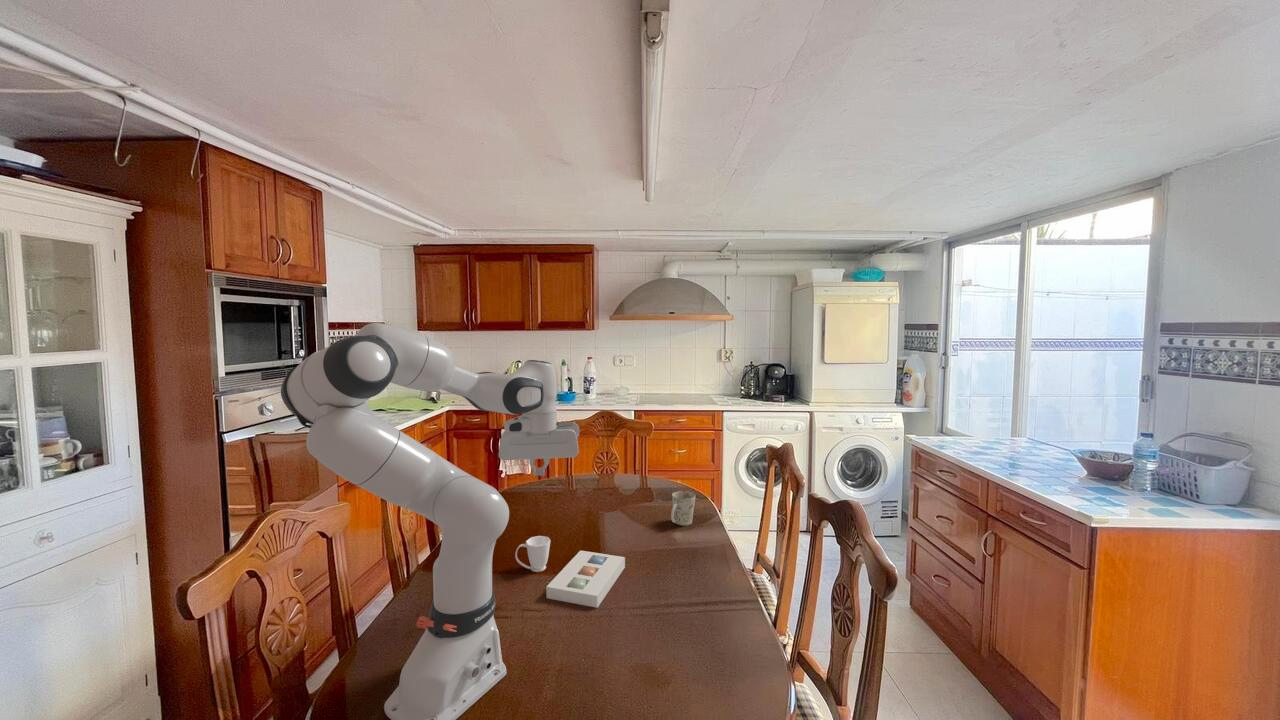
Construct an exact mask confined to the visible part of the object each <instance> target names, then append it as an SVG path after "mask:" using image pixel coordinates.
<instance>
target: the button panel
mask: <svg viewBox="0 0 1280 720" xmlns="http://www.w3.org/2000/svg"><path fill="white" fill-rule="evenodd" d="M593 556H603V557H604V563H603V564H602V565H598V564H591V563H590V558H591V557H593ZM586 566H591V567H594V568H595V575H594V576H593V577H591V576H585V575H581V569H582V568H583V567H586ZM625 568H626V557H625V556H621V555H620V556H619V555H611V554H607V553H606V554H605V553H599V552H593V551H589V550H588V551H585V550H579V551H578V552H577V554H576V555H575V556H573V558H571V560H570V561H569V562H567V564H566V565H565V566H564V567H563V568H562V570H561V571H559V573H558V574H556V576H555V577H554V578H553V579H552V580H551V581H550V582H549V583H548V584H547V585H546V589H545V590H546V597H545V598H546V599H547V600H548V599H550V600H555V601H559V602H564V603H571V604H576V605H581V606H586V607H592V608H599V606H600V605H601V603H602V601H603V600H604V599H605V598H606V596H607V594H608V593H609V591H611V588H612V587H613V586H614V584H615V583H616V581H617V580H618V578H619V576H620V575H621V574H622V572H623V571H624V569H625ZM576 578H582V579H584V580H585V581H586V586H585V587H584V589H583V590H581V589H576V588H570V582H571V580H573V579H576Z"/></svg>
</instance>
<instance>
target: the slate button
mask: <svg viewBox="0 0 1280 720" xmlns="http://www.w3.org/2000/svg"><path fill="white" fill-rule="evenodd" d="M590 563H591V564H598V565H602V564H603V563H604V557H603V556H593V557H591V558H590Z"/></svg>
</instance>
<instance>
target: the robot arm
mask: <svg viewBox="0 0 1280 720" xmlns="http://www.w3.org/2000/svg"><path fill="white" fill-rule="evenodd" d="M455 364H456V361H455V357H454V353H453V351H452V350H451V349H450V348H449V347H448V346H447V345H445V344H443V343H442V342H440V341H438V340H436V339H435V338H431V337H429V336H427V335H424V334H421V333H419V332H416V331H413V330H410V329H407V328H403V327H401V326H400V327H399V326H397V325H392V324H387V323H382V322H381V323H380V322H371V323H368V324H365V325H364V326H362V327H361V328H360V329H359V330H357V332H356V333H355V334H354V336H348V337H345V338H341V339H338V340H336V341H335V342H333V343H332V344H331V345H329V346H327V347H324V348H323V349H320V350H318V351H315V352H313V353H311V354H310V355H309V356H308V357H306V358H305V359H304V360H303V361H301V362H300V363H299V364H297V365H296V366H294V367H292V368H291V370H290V371H289V372H288V373H287V374H286V376H285V377H284V379H283V381H282V383H281V387H280V395H281V400H282V401H283V404H284V405H285V407H286V408H287V410H288V411H289V412H290V413H292V414H293V416H295V418H296V419H298V423H300V425H302V426H303V427H304V428H308V429H309V430H308V433H307V435H306V440H305V441H306V442H305V443H306V449H307V451H308V453H309V454H310V455H311V456H312V457H313V458H314V459H316V461H318V462H319V463H320V464H321V465H323V466H324V467H326V468H328V470H330V471H332V472H333V473H334V474H336V475H337V476H338V477H341V478H343V479H344V480H345V481H347V482H350V483H351V484H353V485H355V486H357V487H359V488H361V489H363V490H366V491H367V492H369V493H371V494H373V495H375V496H376V497H379V498H381V499H382V500H384V501H386V502H388V503H390V504H392V505H394V506H399V507H400V508H404V509H406V510H408V511H411V512H413V513H416V514H417V515H420V516H422V517H424V518H426V519H427V520H429V521H431V522H432V523H434V524H435V525H436V526H438V527H439V530H440V532H441V533H440V534H441V545H440V551H439V555H438V557H437V558H436V559H435V560H434V563H433V564H432V565H433V567H432V582H433V583H432V585H433V586H432V587H433V588H432V589H433V591H432V592H433V601H432V603H431V606H430V609H429V614H428V617H427V616H426V615H425V616H424V615H421V616H419V617H418V618H417V621H416V627H417V628H418V629H424V630H425V631H424V633H423V634H422V636H421V638H419V640H418V642H417V644H416V645H415V647H414V649H413V651H412V653H410V656H409V658H408V659H407V660H406V662H405V664H404V665H403V667H402V669H401V672H400V674H399V675H400V676H399V684H398V686H397V687H396V688H395V690H394V691H392V694H390V695H389V697H388V698H387V700H386V701H385V702H384V706H383V710H384V713H385V715H386V716H387V718H389V719H390V720H457V719H458V718H460V716H462V715H463V714H464V713H465V712H466V711H467V710H469V708H470V707H472V706H473V705H474V704H475V703H477V701H478V700H480V698H482V697H483V696H484V695H485V694H486V693H488V692H489V690H491V689H492V688H493V687H494V686H495V685H497V684H498V682H500V681H501V680H502V679H503V678H504V677H505V676H506V675H507V667H506V664H505V663H504V662H503V655H502V649H501V640H500V632H499V629H498V626H497V623H496V619H495V616H494V614H495V610H496V598H495V597H496V596H495V591H494V590H493V558H494V557H493V555H494V549H495V546H496V543H497V539H498V538H500V536H502V534H503V533H504V531H505V529H506V528H507V525H508V522H509V521H510V520H509V519H510V508H509V505H508V503H507V502H506V500H505V499H504V497H503V496H502V495H501V494H500V492H499V491H498V490H497V489H496V488H495V487H493V486H492V485H490V484H488V483H486V482H485V481H483V480H481V479H478V478H477V477H475V476H473V475H472V474H469V473H468V472H466V471H464V470H463V469H461V468H459V467H458V466H456V465H455V464H453V463H452V462H450V461H448V460H447V459H445V458H444V457H442V456H440V454H437V452H435V451H434V450H432V449H431V448H428V447H427V446H425V445H424V444H422V443H421V442H419V441H417V440H416V439H414V438H413V437H411V436H409V435H408V434H406V433H404V432H403V431H401V430H400V429H398V428H396V427H394V426H392V425H391V424H389V423H387V422H386V421H383V419H381V418H379V416H377V415H376V414H375V412H373V410H372V409H371V407H370V405H369V402H368V400H370V399H371V398H373V397H375V396H378V395H379V394H380V393H382V392H383V391H385V389H386V388H387V387H388V386H389V385H390V384H394V385H397V386H399V387H403V388H407V389H412V390H415V391H423V392H433V393H434V392H438V391H439V390H442V391H445V392H448V393H451V394H455V395H457V396H460V397H463V398H464V399H465V400H467V401H468V403H470V404H471V405H472V406H473V407H474V408H476V409H477V410H478V411H483V412H492V413H493V412H495V413H499V414H506V415H511V416H512V415H513V416H514V415H515V416H516V417H513V418H510V419H508V420H505V422H504V425H503V429H504V431H503V433H502V434H501V438H500V443H499V446H498V447H499V448H498V458H499V459H500V461H516V460H517V461H519V460H528V461H529V463H528V464H529V465H530V467H531V468H532V470H533V476H534V477H537V476H545V475H546V469H547V467H548V466H549V464H550V459H566V458H568V459H569V458H576V457H577V456H578V454H579V443H578V438H579V436H580V431H581V429H580V425H579V424H577V423H576V422H574V421H568V422H567V421H558V420H557V415H558V413H557V411H558V410H557V407H556V399H557V396H558V388H557V387H558V386H557V385H558V382H557V372H556V368H555V366H554V365H553V364H552V363H551V362H547V361H545V360H536V359H535V360H534V359H528V360H525V361H524V364H523V365H522V366H520V368H518V369H517V370H515V371H513V372H511V373H509V374H506V373H496V372H491V371H481V372H472V371H469V370H468V369H465V368H462V367H459V366H457V365H455ZM519 415H520V416H519ZM536 460H543V464H542V467H541V466H540V467H537V466H536V465H535V461H536Z"/></svg>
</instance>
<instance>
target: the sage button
mask: <svg viewBox="0 0 1280 720" xmlns="http://www.w3.org/2000/svg"><path fill="white" fill-rule="evenodd" d="M585 586H586V581H585V580H584V579H582V578H576V579H573V580H571V582H570V588H576V589H581V590H583V589H584V587H585Z"/></svg>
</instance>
